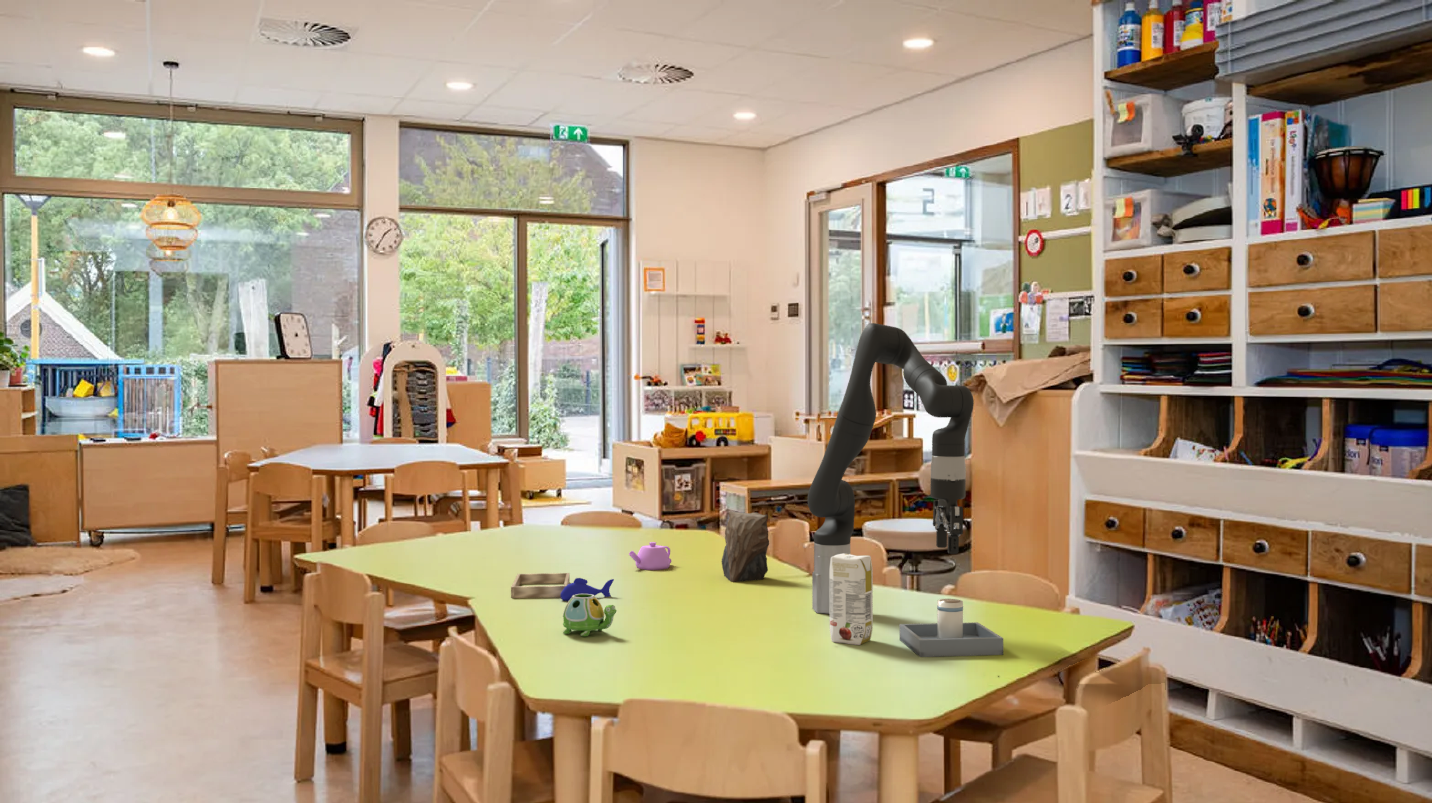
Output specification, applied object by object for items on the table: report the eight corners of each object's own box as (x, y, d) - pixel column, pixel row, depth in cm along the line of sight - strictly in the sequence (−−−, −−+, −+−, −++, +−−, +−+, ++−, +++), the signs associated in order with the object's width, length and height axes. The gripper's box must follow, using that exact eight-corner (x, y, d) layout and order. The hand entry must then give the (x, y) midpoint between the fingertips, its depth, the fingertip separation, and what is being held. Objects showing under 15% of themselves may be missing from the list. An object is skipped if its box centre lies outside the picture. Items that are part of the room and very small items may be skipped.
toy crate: (511, 602, 290) (511, 587, 290) (517, 588, 312) (517, 573, 312) (566, 601, 292) (566, 586, 292) (569, 587, 313) (569, 573, 313)
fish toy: (565, 608, 284) (565, 581, 283) (555, 602, 290) (555, 577, 290) (619, 602, 290) (619, 577, 290) (608, 598, 297) (608, 572, 297)
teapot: (679, 572, 338) (679, 542, 338) (637, 577, 330) (637, 546, 330) (662, 568, 347) (662, 538, 347) (620, 572, 338) (620, 542, 338)
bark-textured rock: (720, 578, 328) (720, 511, 328) (761, 576, 330) (761, 510, 330) (730, 585, 315) (730, 515, 315) (772, 583, 318) (772, 514, 318)
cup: (941, 645, 235) (941, 603, 235) (933, 640, 240) (933, 598, 240) (966, 645, 236) (966, 602, 236) (958, 639, 241) (958, 598, 241)
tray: (919, 657, 229) (919, 640, 229) (899, 639, 245) (899, 624, 245) (1003, 654, 231) (1003, 638, 231) (977, 637, 247) (977, 622, 247)
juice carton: (861, 646, 239) (861, 559, 238) (826, 642, 243) (825, 556, 243) (875, 640, 245) (875, 555, 245) (840, 635, 250) (840, 552, 249)
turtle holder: (606, 639, 247) (606, 601, 247) (555, 634, 252) (555, 597, 252) (623, 631, 255) (623, 594, 255) (574, 626, 260) (574, 590, 260)
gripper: (922, 473, 247) (921, 545, 247) (940, 479, 233) (939, 555, 233) (955, 473, 247) (954, 545, 248) (975, 479, 233) (974, 555, 234)
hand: (947, 550), depth 240 cm, fingers open, 8 cm apart
